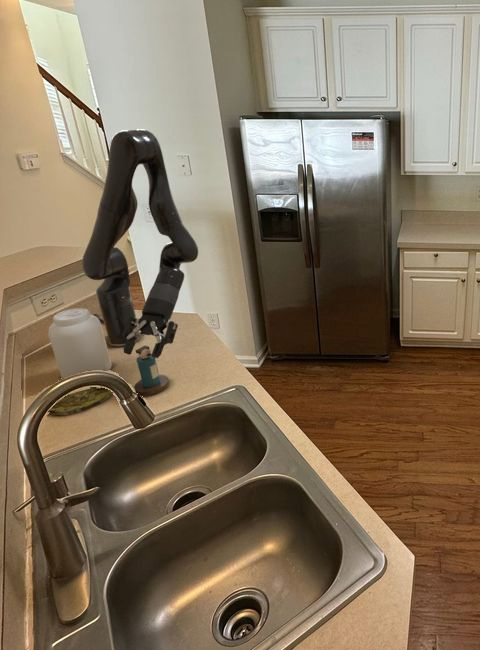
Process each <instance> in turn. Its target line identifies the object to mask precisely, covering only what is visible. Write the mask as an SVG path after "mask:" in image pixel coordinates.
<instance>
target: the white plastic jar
mask: <svg viewBox="0 0 480 650" xmlns="http://www.w3.org/2000/svg"><path fill="white" fill-rule="evenodd" d="M47 335H48V338H49V341H50V345H51V348H52V351H53V354H54V357H55V360H56V364H57V366H58V370H59V373H60V376H61V379H63V378H66V377H69V376H71V375H75V374H78V373H82V372H85V371H92V370H103V371H108V372H109V371H110V370H111V368H112V360H111V357H110V352H109V349H108V345H107V341H106V338H105V334H104V329H103V326H102V321H99V319H98V318H97V317H96V316H94V314H91V311H90V310H89V309H87V308H83V307H81V308H80V307H77V308H69V309H66V310H63V311H60V312H58V313H56V314H55V315H53V318H52V323H51V325H49V326H48V334H47Z"/></svg>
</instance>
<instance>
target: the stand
mask: <svg viewBox="0 0 480 650" xmlns="http://www.w3.org/2000/svg"><path fill="white" fill-rule="evenodd" d="M159 378H160V382H159V383H158V384H157V385H155V386H152V387H144V386H143V384H142V380H141V379H140V380H138V381H137V382H136V383H135V384H134V387H133V388H134V392H135V394H136V393H138V394H139V395H141V396H140V397H152V396H155V395H158V394H160V393H162V392H164V391H165V390H166V389H168V388H169V386H170V381H169V377H168V376H166V375H164V374H159ZM139 395H138V396H139Z"/></svg>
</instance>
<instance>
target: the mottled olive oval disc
mask: <svg viewBox="0 0 480 650" xmlns="http://www.w3.org/2000/svg"><path fill="white" fill-rule="evenodd" d="M113 394H114V391H113V392H111V391H110V390H108V389H105V388H102V386H100V387H91V386H90V387H89V388H85V389H82V390H78V391H76V392H71V393H68V395H67V394H66V395H67V396H65V397H64V398H62V397H61V398H62V399H61V398H60V399H61V400H59V399H58V400H59V401H58V402H57V403H56V404H55V405H54V406H53V407H52V408H51V409H50V410H49V411H48V412H47V413H51V414H53V415H55V416H66V415H67V416H68V415H73V414H77V413H79V412H83V411H85V410H87V409H91V408H92V407H95V406H96V405H99V404H102V403H104V402H105V401H106V400H108V399H109V398H110V397H111V396H112V395H113Z"/></svg>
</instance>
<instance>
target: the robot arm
mask: <svg viewBox="0 0 480 650" xmlns="http://www.w3.org/2000/svg"><path fill="white" fill-rule="evenodd" d="M108 152H109V153H108V163H107V171H106V176H105V180H104V185H103V190H102V194H101V197H100V202H99V205H98V208H97V214H96V219H95V221H94V226H93V229H92V232H91V236H90V239H89V241H88V243H87V246H86V248H85V251H84V253H83V256H82V259H81V267H82V271H83V273H84V275H85V276H86V277H87V278H88V279H91V280H93V281H101V280H103V281H102V283H101V284H100V285H99V286H98V287H97V288H96V290H95V293H96V297H97V301H98V305H99V309H100V312H101V316H102V318H100V317H99V316H98V314H97V313H94V314H93V315H94V316H96V317H97V318H98V319H99V321H100V322H101V323H104V328H105V331H106V336H107V339H108V345H109V346H111V347H115V348H116V347H117V348H119V347H120V348H121V347H123V353H124V354H126V355H131V354H132V353H133V350H134V348H135V345H136V343H137V342H139V341H140V340H141V339H142V337H144V336H145V335H146V336H153V337H155V339H156V343H155V345H154V347H153V349H152V351H151V354H152V355H151V356H152V357H155V359H159V357H161V355H162V353H163V350H164V347H165V346H166V345H169V344H170V345H172V344H173V343H174V340H175V337H176V334H177V329H178V323H176V322H175V321H173V320H171V318H172V315H173V313H174V310H175V308H176V305H177V302H178V298H179V294H180V291H181V288H182V285H183V283H184V280H185V273H184V271H182V270H181V269H180V268H181V265H182V264H188V263H192V262H195V261H196V260H197V258H198V256H199V247H198V244H197V242H196V240H195V239H194V237H193V236H192V234H191V233H190V231H189V230H188V229H187V228H186V227H185V225H184V224H183V221H182V218H181V215H180V214H179V211H178V208H177V206H176V202H175V201H174V197H173V194H172V190H171V187H170V182H169V177H168V173H167V169H166V164H165V159H164V154H163V151H162V148H161V144H160V142H159V140H158V138H157V136H156V135H154V133H152V132H150V131H149V130H147V129H131V130H129V129H128V130H121V131H117V132H116V133H114V135H113V136H112V138H111V141H110V146H109V151H108ZM139 165H142V166H143V168H144V170H145V172H146V175H147V180H148V208H149V212H150V215H151V217H152V220H153V222H154V224H155V227H156V229H157V231H158V233H159V234H160V235H162V236H166V237H168V239H169V240H170V241H169V242H168V243H166V244H165V245H164V246H163V248H162V249H161V253H160V256H159V257H160V258H159V267H158V268H159V269H158V273H157V275H156V278H155V280H154V283H153V285H152V287H151V288H150V291H149V293H148V295H147V298H146V299H145V302H144V305H143V308H142V310H141V316H140V317H139V318H138V317H137V315H136V310H135V307H134V302H133V298H132V294H131V289H130V288H131V276H130V272H129V271H130V270H129V264H128V261H127V258H126V255H125V254H124V252H123V251H122V250H121V249H120V248H119V247H116V245H117V244H118V242H119V241H120V240H121V239H122V238H123V237H124V235H126V233H127V232H128V231H129V229H130V228H131V227H132V225H133V223H134V220H135V216H136V213H137V210H138V198H137V195H136V193H135V190H134V188H133V179H134V177H135V173H136V171H137V167H138V166H139ZM169 320H170V321H169ZM164 330H166V331H164Z"/></svg>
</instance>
